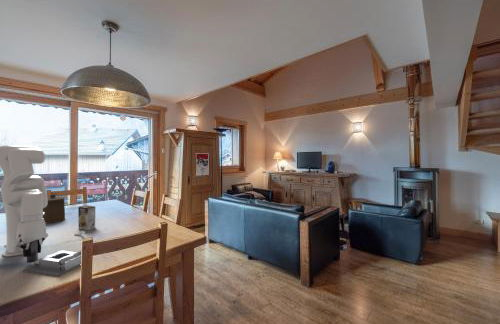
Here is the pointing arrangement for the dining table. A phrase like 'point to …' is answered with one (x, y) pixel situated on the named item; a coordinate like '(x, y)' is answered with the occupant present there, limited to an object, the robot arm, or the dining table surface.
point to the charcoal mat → (47, 271)
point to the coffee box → (86, 217)
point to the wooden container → (54, 209)
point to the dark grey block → (33, 252)
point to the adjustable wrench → (81, 234)
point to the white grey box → (62, 259)
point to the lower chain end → (37, 264)
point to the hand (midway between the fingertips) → (32, 254)
